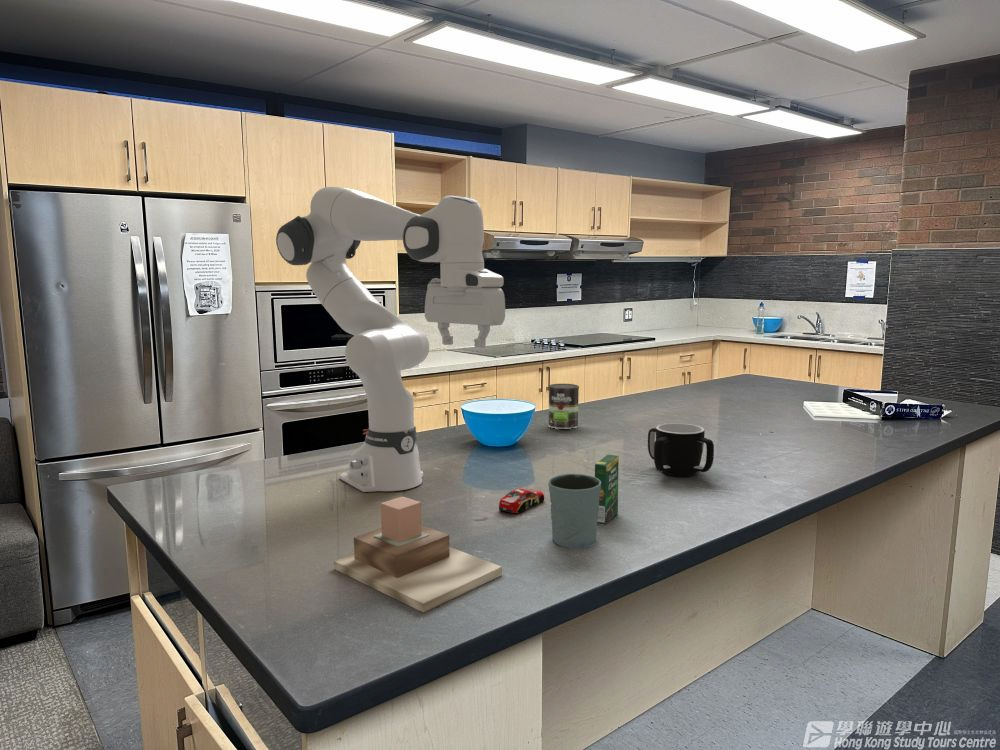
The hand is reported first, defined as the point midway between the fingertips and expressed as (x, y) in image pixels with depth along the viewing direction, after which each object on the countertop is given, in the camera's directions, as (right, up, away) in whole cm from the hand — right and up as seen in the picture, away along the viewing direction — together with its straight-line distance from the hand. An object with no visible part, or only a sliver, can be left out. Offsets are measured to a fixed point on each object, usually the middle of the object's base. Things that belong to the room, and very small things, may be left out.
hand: (463, 346), depth 141 cm
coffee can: (+29, -24, +93) cm, 101 cm away
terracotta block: (-10, -35, -18) cm, 40 cm away
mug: (+54, -32, +38) cm, 74 cm away
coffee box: (+30, -37, +5) cm, 48 cm away
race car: (+12, -36, +14) cm, 40 cm away
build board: (-7, -41, -20) cm, 46 cm away
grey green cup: (+22, -39, -6) cm, 45 cm away
